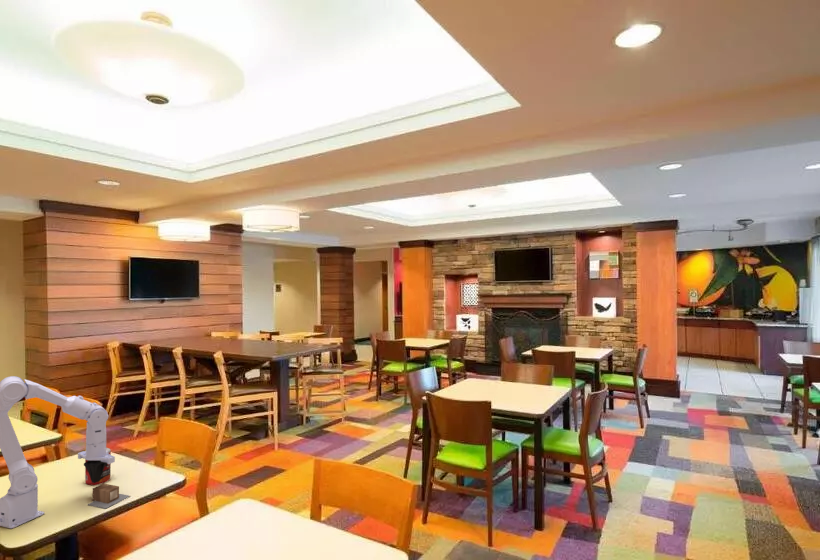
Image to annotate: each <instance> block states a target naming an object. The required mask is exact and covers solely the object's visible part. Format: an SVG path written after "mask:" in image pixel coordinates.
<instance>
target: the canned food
mask: <svg viewBox="0 0 820 560" xmlns="http://www.w3.org/2000/svg"><path fill="white" fill-rule="evenodd" d="M106 451H109V453H108V454H110V455H111V454H112V452H111V449H110V448H108V447H106ZM87 461H88V460H86V459H84V463H85V462H87ZM111 464H112V463H111ZM111 464H106V466H105V467H104V470H103V472H102V476H101V479H100V481H98V482H96V483H92V481H91V478H90V475H89V472H88V470H87V469H86V467H85V466H84V469H85V470H84V471H85V472H84V478H85V479H84V481H85V484H86V485H89V486H97V485H98V486H99V485H101V484H106V483H107V482H108V481H109V480H110V479H111V474H112V473H111V471H112V470H111Z"/></svg>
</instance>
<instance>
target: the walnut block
mask: <svg viewBox="0 0 820 560" xmlns="http://www.w3.org/2000/svg"><path fill="white" fill-rule="evenodd" d="M91 494H92V500H91V501H98V502H103V503H110V502H112V501H114V500H116V499H118V498H119V494H120V486H119V485H113V484H107V483H102V484H98V486H97V485H96V486H95V487H93V488H92V493H91Z"/></svg>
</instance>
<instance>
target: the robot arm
mask: <svg viewBox="0 0 820 560" xmlns="http://www.w3.org/2000/svg"><path fill="white" fill-rule="evenodd" d="M24 381H25V382H24ZM23 398H25V400H29V399H34V398H37V399H39V400H42V401H43V400H44V401H46V402H49V403H51V404H54V405H57V406H60V407H61V411H62V413H65V414H68V415H70V416H71V417H74V418H76V419H78V420H85V421H86V429H85V451H84V450H83V451H80V452H78V453H77V459H78V460H81V459H82V460H83V459H84V460H85V459H86V460H88V461H87V462H85V461H84V463H83V466H84V468H85V467H86V469H87V470H88V472H89V475H90V478H91V481H92V483H96V482H98V481H100V479H101V476H102V472H103V470H104V467H105V466H106V464H113V463H115V459H116V456H114V455H110V454H108V453H109V451H106V448H107V426H106V425H107V421H108V419H109V416H110V415H109V414H108V411H107V410H106V409H105V408H104V407H103V406H101V405H100V404H99V403H96V402H91V401H88V400H86V399H84V397H83V396H82V395H77V396H76V395H72V396H71V395H70V396H66V395H63V394H62V393H59V392H57V391H55V390H53V389H50V388H49V387H46V386H44V385H42V384H40V383H37V382H34V381H32V380H29V379H22V378H21V377H19V376H16V375H15V376H14V375H11V376H7V377H4V378H3V379H2V380H1V381H0V451H1V454H2V456H3V459H4V461H5V463H6V466H7V469H8V472H9V474H8V480H9V482H10V483H9V484H10V486H9V488H8V489H7V492H6V494H5V495H4V496H2V497H0V527H4V528H8V529H14V528H16V527H18V526H21V525H23V524H25V523H27V522H29V521H31V520H34V519H36V518H38V517H41V516H43V515H45V511H42V510H41V511H40V510H38V508H39V507H38V506H39V505H38V501H39V499H38V498H39V497H38V494H39V489H38V487H39V486H38V476H37V474H36V472H35V468H34V466H33V465H32V464H29V463H28V460H27V459H26V457H25V454H24V452H23V449H22V447H21V445H20V444H21V443H20V442H19V439H18V436H17V434H16V432H15V429H14V426H13V424H12V422H11V419H10V417H9V415H8V413H9V412H10V410H11V409H12V408H13V406H14V404H16V403H19V401H20V400H22V399H23Z"/></svg>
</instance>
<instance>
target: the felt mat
mask: <svg viewBox="0 0 820 560" xmlns="http://www.w3.org/2000/svg"><path fill="white" fill-rule="evenodd" d="M129 496H130V495H127V494H124V493H119V498H118V499H116V500H114V501H112V502H110V503H103V502H98V501H94V500H92V502H89V503H87V506H89V507H95V508H99V509H103V510H106V509H108V508H111V507H112V506H114V505H117V504H119V503H120V502H123V501H124V499H125V500H127V499H128V498H127V497H129ZM126 498H127V499H126ZM129 498H130V497H129ZM122 500H123V501H122Z"/></svg>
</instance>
